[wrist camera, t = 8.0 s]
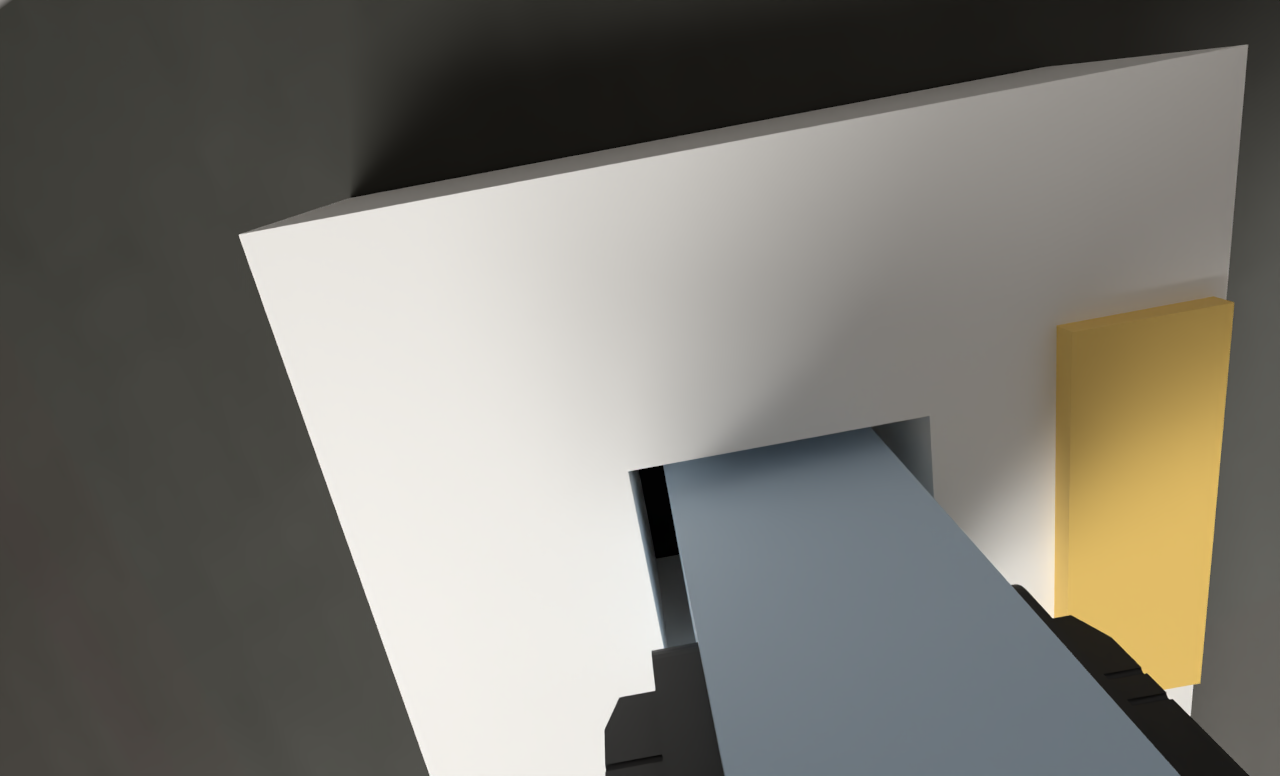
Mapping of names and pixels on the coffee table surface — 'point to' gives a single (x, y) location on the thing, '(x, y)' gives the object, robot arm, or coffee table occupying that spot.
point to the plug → (873, 628)
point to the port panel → (770, 371)
